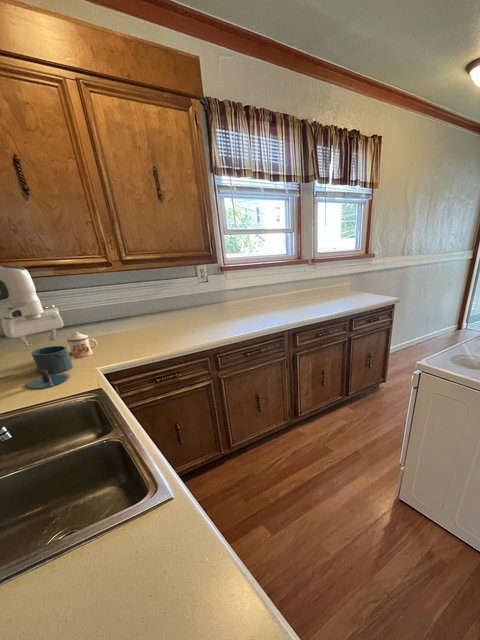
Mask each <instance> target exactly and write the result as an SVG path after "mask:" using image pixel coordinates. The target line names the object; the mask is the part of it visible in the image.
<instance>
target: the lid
mask: <svg viewBox="0 0 480 640" xmlns="http://www.w3.org/2000/svg"><path fill="white" fill-rule="evenodd" d="M40 373H41V374H40V377H36V378H34V379H32V380H30V381H29V382H28V383H26V388H28V389H30V390H43V389H48V388H53V387H56V386H59V385H62V384H63V383H65V382H66V381H68V379H69V378H68V375H66V374H51V375H49V374H48V371H47V370H41V371H40Z"/></svg>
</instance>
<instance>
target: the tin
mask: <svg viewBox="0 0 480 640" xmlns="http://www.w3.org/2000/svg"><path fill="white" fill-rule="evenodd" d="M31 356H32V359H33V361H34V364H35V365H36V369H37V371H38V374H39V375H41V373H40V371H41V370H47V371H48V374H49V375H59V374H61V373H65V372H68V371H70V370H71V369H73V367H74V365H73V363H72V360H71V359H72V358H71V357H70V354H69V351H68V348H67V346H64V345H52V346H46V347H41V348H37V349H35V350H32V351H31Z"/></svg>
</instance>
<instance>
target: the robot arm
mask: <svg viewBox="0 0 480 640" xmlns="http://www.w3.org/2000/svg"><path fill="white" fill-rule="evenodd" d="M8 300H9V302H10V303H11V305H10V306H8V307H6V308H4V309H2V310H0V317H1V318H2V319H0V320H1V321H0V323H1V327H2V331H3V333H4V335H5V336H6V337H7V338H9V339H16V338H18V340H20V341H21V342H22V343H24V346H25V347H26V348H29V347H32V343H31V341H27V340H26V336H30V335H34V334H38V333H43V332H48V331H49V332H50V335H49V336H48V338H49V340H50V341H51V342H52V341H57V337H56V334H57V329H61V328H63V327H64V321H63V319H62V317H61V315H60V312H59V309H58V307H56V306H54V305H53V304H52V305H44V306H43V305H42V302H41V300H40V298H39V296H38V295H37V290H36V286H35V283H34V281H33V279H32V277H31V274H30V273H29V271H28V270H27V268H25V267H24V266H21V265H19V264H8V263H7V264H6V263H5V264H0V302H4V301H8Z"/></svg>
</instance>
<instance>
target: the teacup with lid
mask: <svg viewBox="0 0 480 640" xmlns="http://www.w3.org/2000/svg"><path fill="white" fill-rule="evenodd" d="M66 341H67V343H68V345H69V349H70V353H71V354H72V355H73V357H74V358H85V357H89V356H91V355H92V354H93V349H95V348H97V345H98V342H97V340H96V339H94V338H89V336H88V334H82V333H79V332H78V331H74V332H73V334H72V335H70V336H68V337H67V338H66ZM90 341H93V342H94V346H91V344H90Z"/></svg>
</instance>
